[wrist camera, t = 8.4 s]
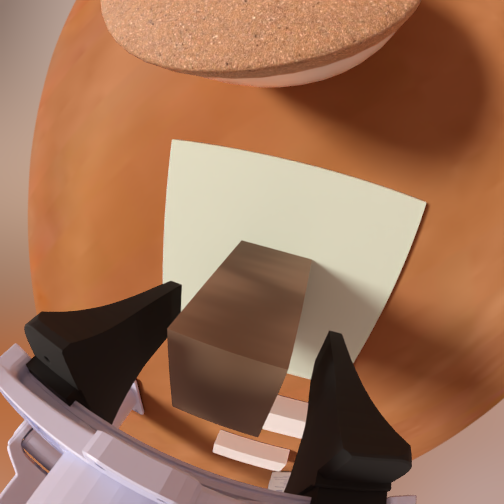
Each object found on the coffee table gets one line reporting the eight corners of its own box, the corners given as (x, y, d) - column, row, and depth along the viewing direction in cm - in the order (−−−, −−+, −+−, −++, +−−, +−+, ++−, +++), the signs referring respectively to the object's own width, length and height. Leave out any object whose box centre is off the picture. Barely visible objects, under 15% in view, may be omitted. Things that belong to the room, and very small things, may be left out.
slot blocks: (218, 439, 27) (212, 452, 25) (231, 380, 21) (223, 397, 19) (282, 458, 26) (279, 471, 24) (322, 406, 20) (320, 425, 18)
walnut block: (230, 310, 18) (172, 406, 11) (241, 240, 15) (167, 328, 8) (290, 328, 17) (258, 437, 10) (311, 259, 15) (287, 369, 8)
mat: (166, 326, 21) (163, 329, 20) (175, 139, 15) (172, 139, 14) (338, 382, 18) (338, 386, 18) (424, 201, 12) (426, 202, 12)
